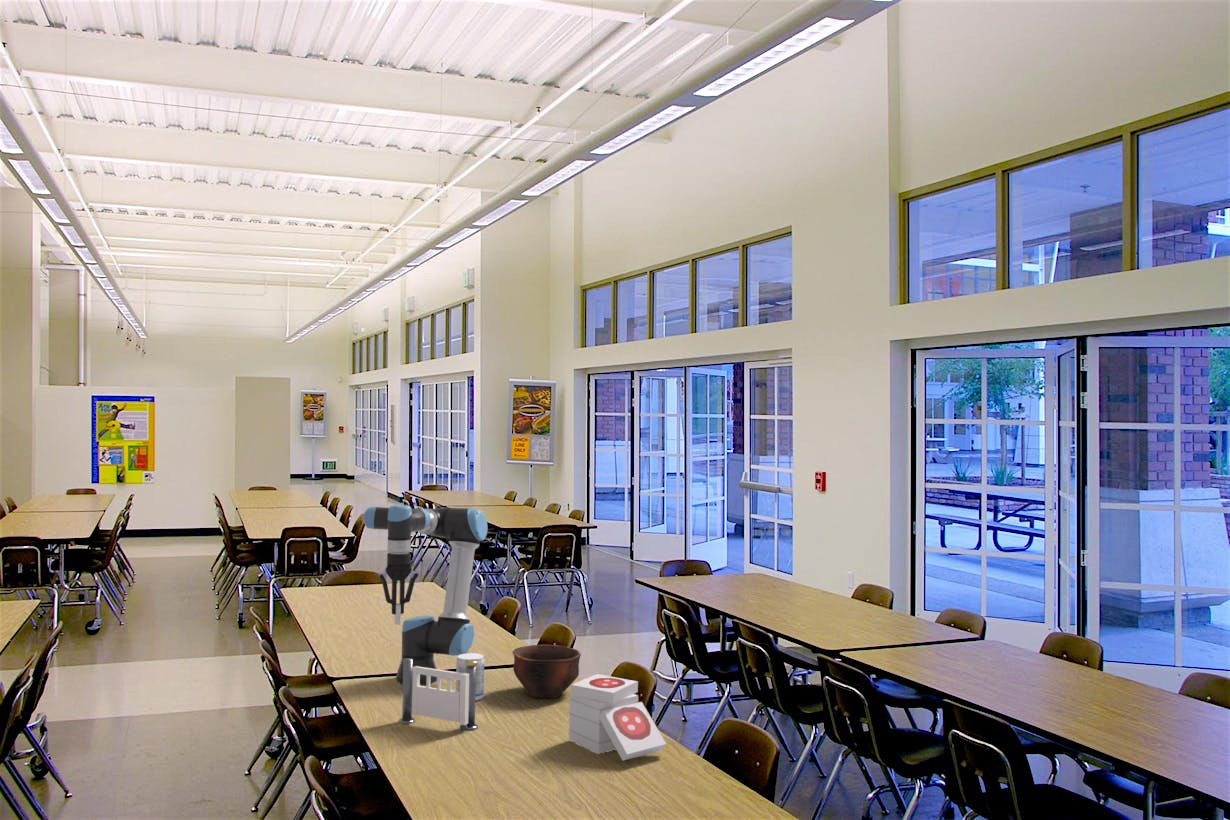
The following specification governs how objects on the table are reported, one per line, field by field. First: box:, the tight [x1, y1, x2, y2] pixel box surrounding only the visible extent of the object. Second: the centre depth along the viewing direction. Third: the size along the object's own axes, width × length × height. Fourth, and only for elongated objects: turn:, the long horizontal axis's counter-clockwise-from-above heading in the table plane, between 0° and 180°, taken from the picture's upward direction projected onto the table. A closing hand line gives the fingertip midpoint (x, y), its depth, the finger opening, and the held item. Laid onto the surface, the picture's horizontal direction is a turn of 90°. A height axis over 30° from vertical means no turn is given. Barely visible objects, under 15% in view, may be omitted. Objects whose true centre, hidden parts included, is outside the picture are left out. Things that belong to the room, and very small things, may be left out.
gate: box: [412, 666, 469, 732], centre depth 300 cm, size 20×2×18 cm, turn 66°
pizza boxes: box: [568, 673, 667, 761], centre depth 285 cm, size 19×30×18 cm, turn 39°
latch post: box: [465, 660, 479, 731], centre depth 300 cm, size 5×5×21 cm
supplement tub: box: [455, 652, 485, 702], centre depth 332 cm, size 10×10×15 cm
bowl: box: [512, 644, 582, 699], centre depth 339 cm, size 25×25×15 cm
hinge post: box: [398, 658, 416, 725], centre depth 305 cm, size 5×5×20 cm
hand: (397, 623), depth 314 cm, fingers closed
